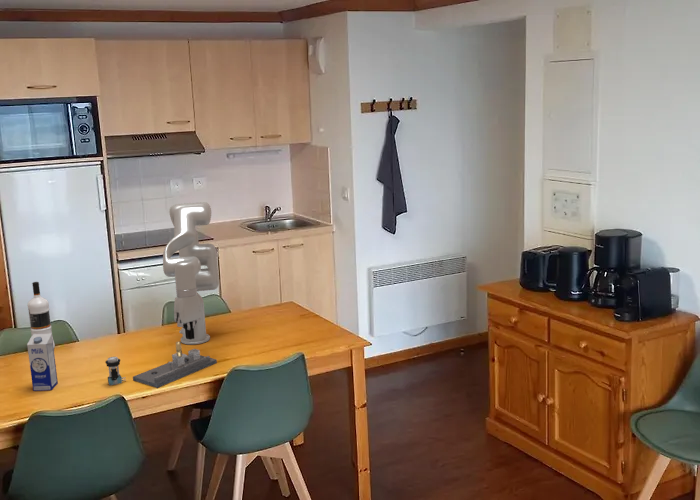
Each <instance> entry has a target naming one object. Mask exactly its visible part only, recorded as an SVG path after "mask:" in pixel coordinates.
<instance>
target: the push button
mask: <svg viewBox="0 0 700 500" xmlns="http://www.w3.org/2000/svg"><path fill="white" fill-rule="evenodd" d="M104 363H105V364H106V367H108V377H107V384H108V385H109V386H113V385H119V384H123V382H124V381H127V379H126V376H125V377H122V375H121V373H120V368H119V367H120V363H121V359H120V358H118V356H110V357H107V360H105V362H104Z"/></svg>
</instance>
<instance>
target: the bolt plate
mask: <svg viewBox="0 0 700 500" xmlns="http://www.w3.org/2000/svg"><path fill="white" fill-rule="evenodd" d="M186 355H187V356H186V357H184V362H185V365H184V366H182V367H179V368H177V369H173V364H171V366H170V363H164V364H162V365H159V366H157V367H154V368H151V369H149V370H146V371H144V372H141V373H138V374H136V375H134V376H132V381H134V382H137V383H140V384H142V385H146V386H149V387H153V388H156V389H158V388H160V387H164V386H165V385H169V384H170V383H173V382H175V381H177V380H179V379H182V378H184V377H186V376H189V375H192V374H194V373H197V372H199V371H201V370H204V369H206V368H208V367H211V366H213V365H216V364H217V363H218V359H215V358H212V357H211V356H209V355H207V356H205V355H201V351H200V349H197V348H192V349H190V350H187V354H186ZM171 362H173V360H172V361H171Z"/></svg>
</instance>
